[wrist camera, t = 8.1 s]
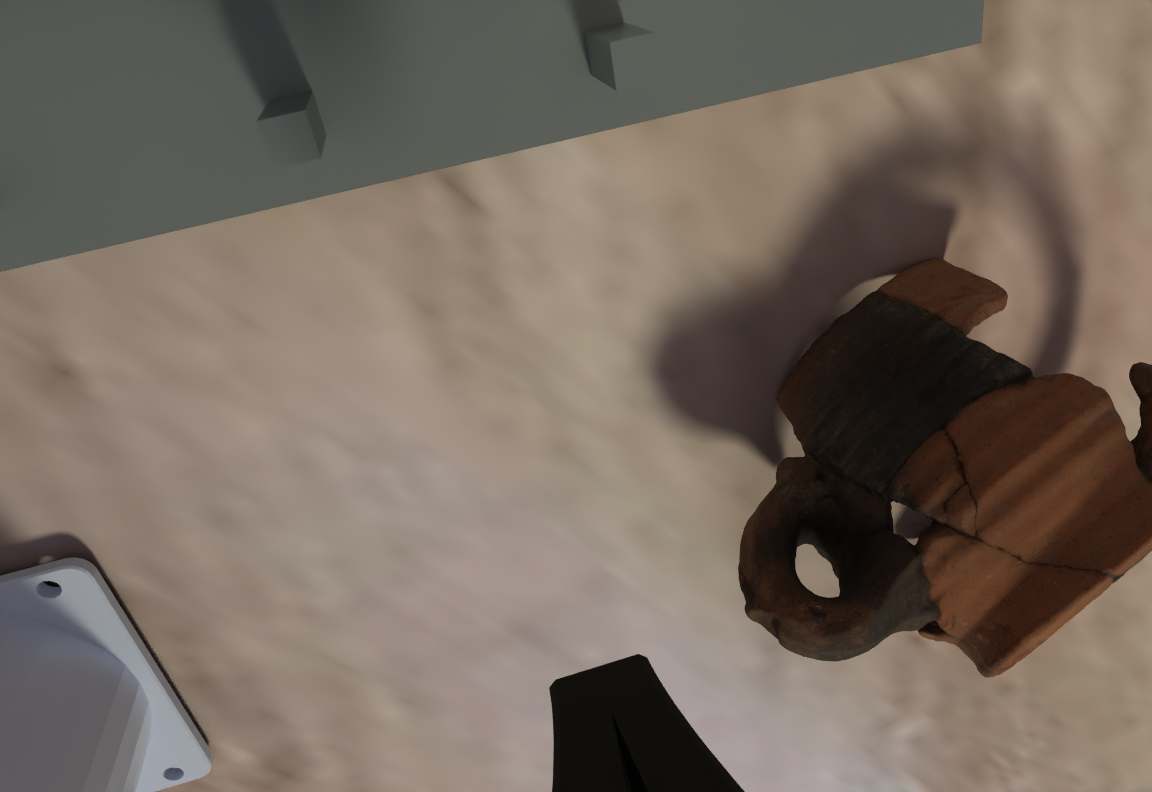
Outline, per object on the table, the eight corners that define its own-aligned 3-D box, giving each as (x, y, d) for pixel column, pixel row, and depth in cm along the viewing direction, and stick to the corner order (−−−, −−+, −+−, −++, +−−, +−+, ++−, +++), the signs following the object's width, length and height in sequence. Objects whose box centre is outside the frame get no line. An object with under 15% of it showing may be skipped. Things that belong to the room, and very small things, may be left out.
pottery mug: (1025, 169, 21) (1358, 384, 17) (933, 377, 29) (1144, 559, 25) (640, 413, 18) (923, 740, 14) (653, 570, 26) (838, 810, 22)
